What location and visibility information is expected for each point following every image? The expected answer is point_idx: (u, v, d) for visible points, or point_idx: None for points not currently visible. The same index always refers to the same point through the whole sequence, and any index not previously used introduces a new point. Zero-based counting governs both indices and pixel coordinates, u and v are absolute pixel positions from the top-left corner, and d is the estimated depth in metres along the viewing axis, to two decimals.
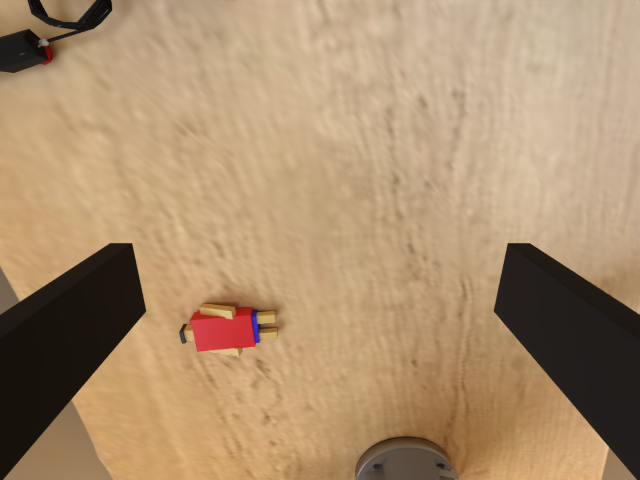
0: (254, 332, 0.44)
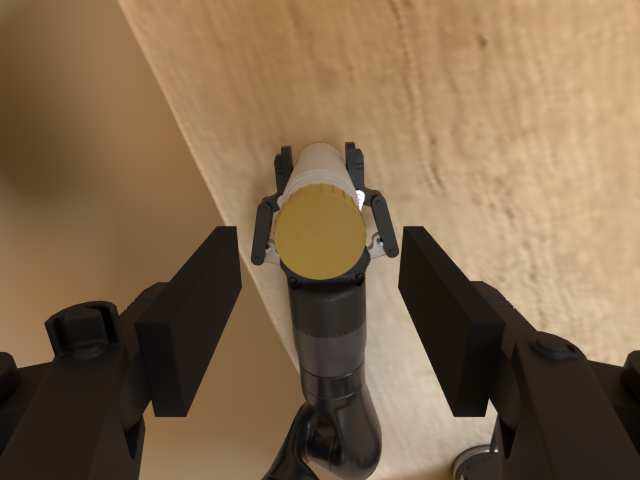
0: None
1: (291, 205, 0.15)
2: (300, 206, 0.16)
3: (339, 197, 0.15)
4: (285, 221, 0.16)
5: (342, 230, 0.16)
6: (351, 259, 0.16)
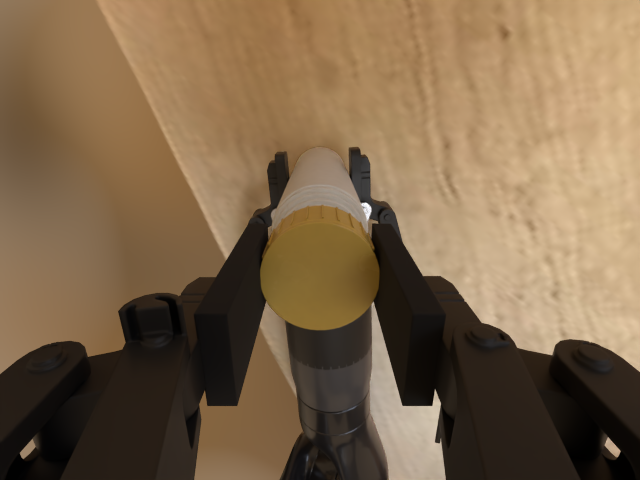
0: None
1: (282, 237, 0.12)
2: (293, 239, 0.12)
3: (345, 227, 0.12)
4: (274, 258, 0.12)
5: (349, 269, 0.12)
6: (361, 304, 0.13)
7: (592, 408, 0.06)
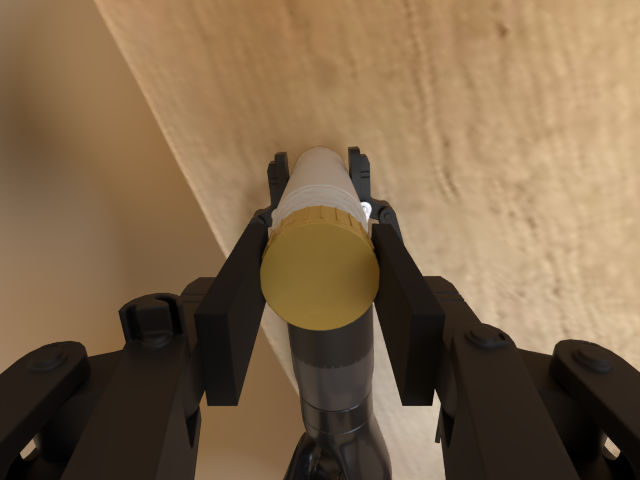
0: None
1: (287, 320, 0.13)
2: (285, 310, 0.13)
3: (260, 270, 0.12)
4: (309, 321, 0.13)
5: (300, 257, 0.12)
6: (337, 234, 0.12)
7: (592, 408, 0.06)
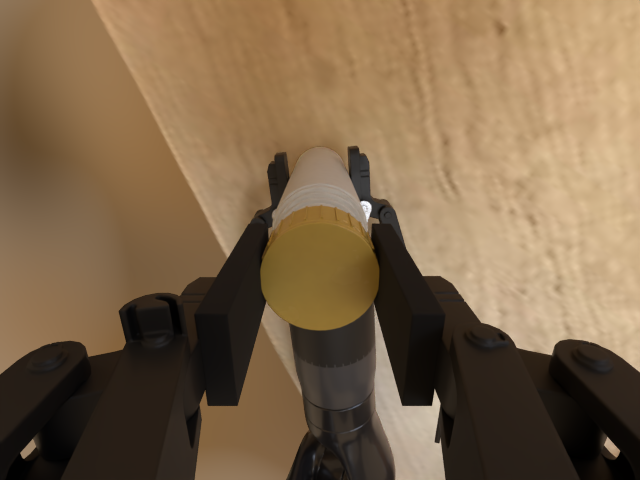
0: None
1: (372, 297, 0.13)
2: (362, 301, 0.13)
3: (326, 328, 0.13)
4: (370, 278, 0.12)
5: (301, 301, 0.13)
6: (268, 277, 0.12)
7: (591, 408, 0.06)
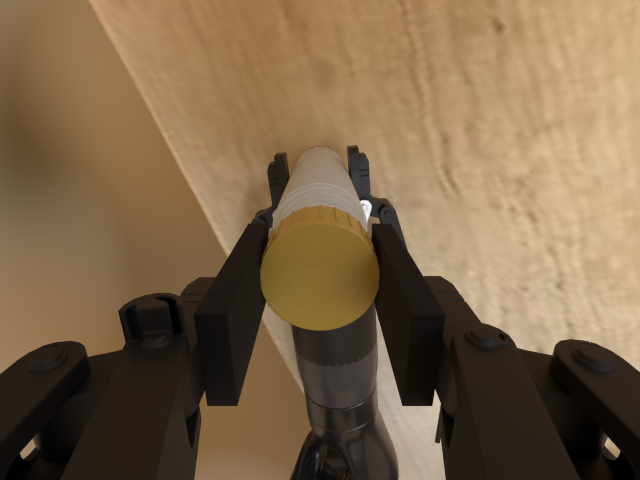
0: None
1: (324, 225, 0.12)
2: (332, 234, 0.12)
3: (376, 258, 0.12)
4: (303, 235, 0.12)
5: (348, 290, 0.12)
6: (330, 323, 0.13)
7: (592, 408, 0.06)
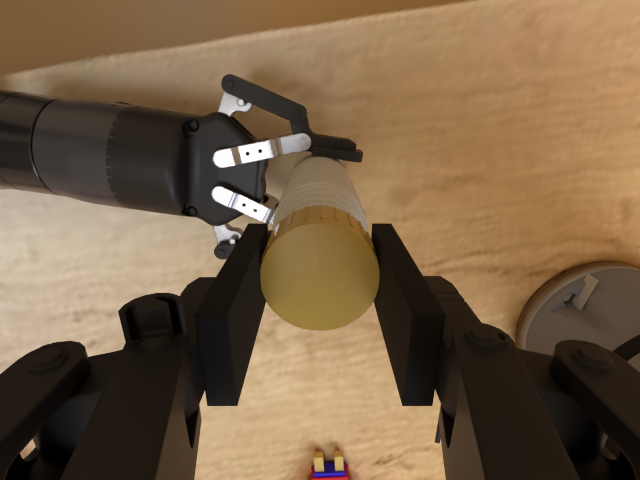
0: (332, 476, 0.45)
1: (324, 225, 0.12)
2: (332, 234, 0.12)
3: (376, 258, 0.12)
4: (303, 235, 0.12)
5: (348, 290, 0.12)
6: (330, 322, 0.13)
7: (592, 408, 0.06)
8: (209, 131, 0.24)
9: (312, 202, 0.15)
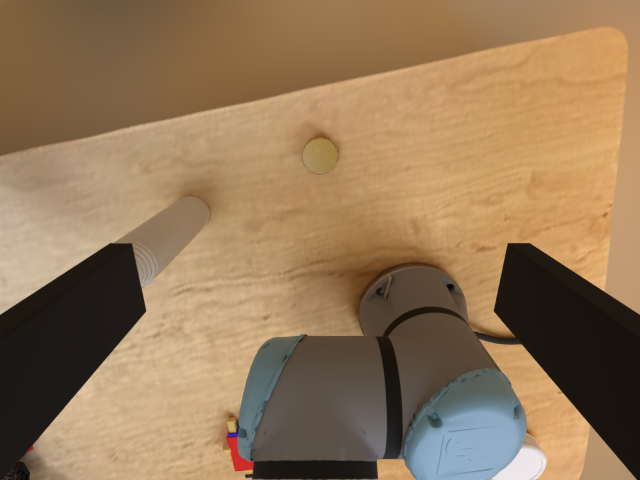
0: None
1: (321, 139, 0.41)
2: (323, 141, 0.41)
3: (336, 149, 0.41)
4: (315, 142, 0.41)
5: (328, 160, 0.42)
6: (323, 171, 0.42)
7: None
8: None
9: None
